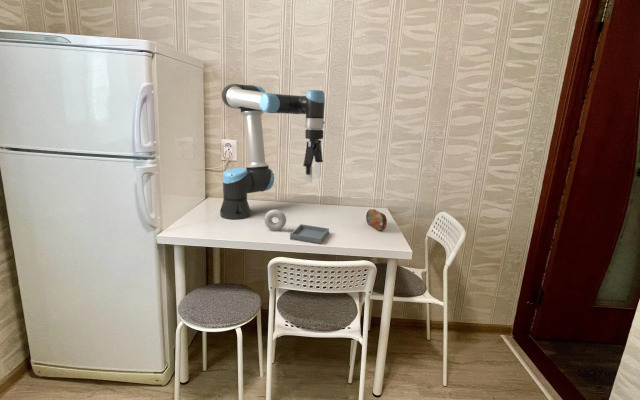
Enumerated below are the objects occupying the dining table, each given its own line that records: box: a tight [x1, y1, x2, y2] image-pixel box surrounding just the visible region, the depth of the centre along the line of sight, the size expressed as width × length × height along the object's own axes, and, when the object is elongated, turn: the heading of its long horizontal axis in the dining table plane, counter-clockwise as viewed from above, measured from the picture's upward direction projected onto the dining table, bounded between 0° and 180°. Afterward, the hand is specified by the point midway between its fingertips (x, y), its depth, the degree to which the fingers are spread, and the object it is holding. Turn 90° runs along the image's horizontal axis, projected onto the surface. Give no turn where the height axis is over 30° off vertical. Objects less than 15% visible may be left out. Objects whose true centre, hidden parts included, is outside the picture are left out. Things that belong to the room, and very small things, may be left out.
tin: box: [365, 208, 388, 232], centre depth 166 cm, size 15×3×8 cm, turn 23°
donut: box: [264, 209, 287, 231], centre depth 155 cm, size 10×4×10 cm, turn 86°
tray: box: [289, 223, 330, 245], centre depth 151 cm, size 14×14×2 cm
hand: (313, 179), depth 146 cm, fingers open, 13 cm apart
